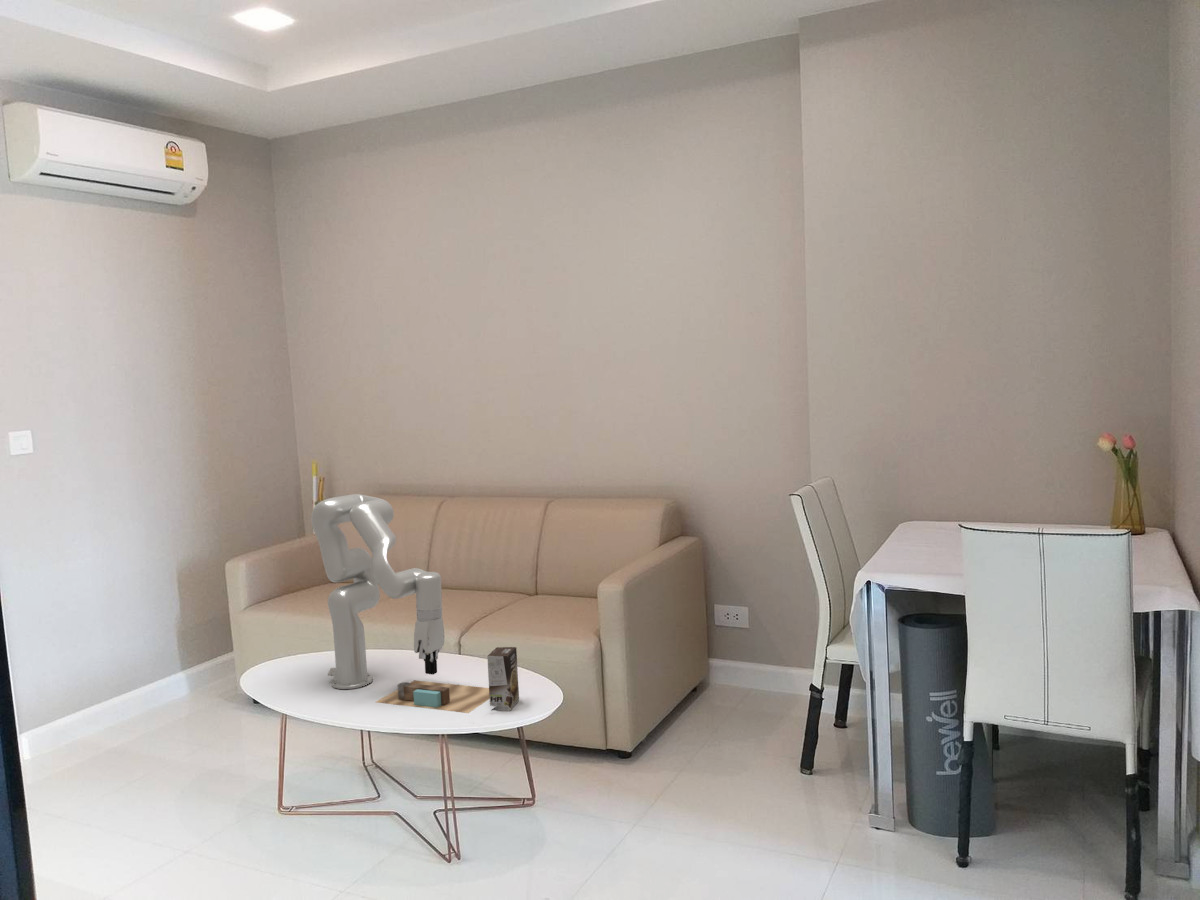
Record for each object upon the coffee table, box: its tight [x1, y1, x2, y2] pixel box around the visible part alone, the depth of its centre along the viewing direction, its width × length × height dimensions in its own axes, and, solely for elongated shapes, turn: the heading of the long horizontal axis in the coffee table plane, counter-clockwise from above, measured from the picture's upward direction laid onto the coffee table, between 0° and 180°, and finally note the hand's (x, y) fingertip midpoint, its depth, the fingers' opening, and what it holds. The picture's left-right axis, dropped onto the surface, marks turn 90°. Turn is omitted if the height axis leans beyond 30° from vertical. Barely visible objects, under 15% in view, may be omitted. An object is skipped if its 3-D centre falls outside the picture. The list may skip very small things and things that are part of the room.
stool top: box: [375, 680, 490, 714], centre depth 268 cm, size 32×20×2 cm, turn 67°
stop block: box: [413, 689, 441, 708], centre depth 260 cm, size 8×2×4 cm, turn 67°
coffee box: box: [487, 646, 520, 712], centre depth 261 cm, size 9×6×16 cm
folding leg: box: [397, 681, 450, 705], centre depth 264 cm, size 17×4×4 cm, turn 66°
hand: (431, 673), depth 271 cm, fingers closed
